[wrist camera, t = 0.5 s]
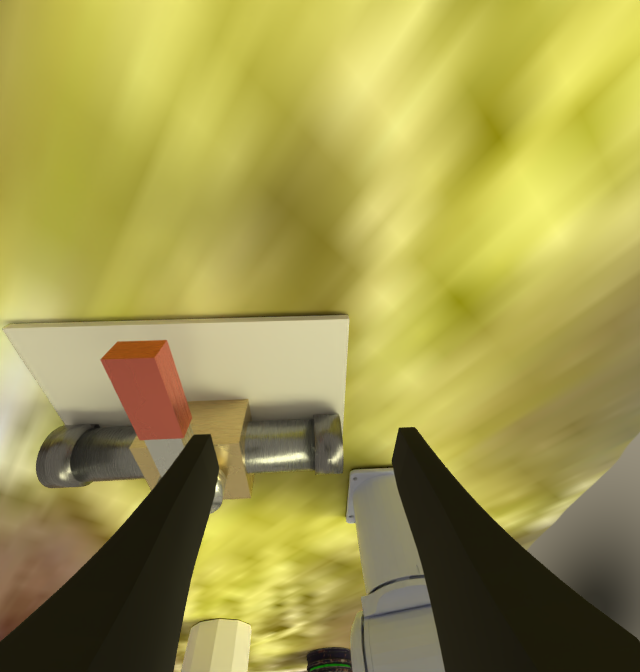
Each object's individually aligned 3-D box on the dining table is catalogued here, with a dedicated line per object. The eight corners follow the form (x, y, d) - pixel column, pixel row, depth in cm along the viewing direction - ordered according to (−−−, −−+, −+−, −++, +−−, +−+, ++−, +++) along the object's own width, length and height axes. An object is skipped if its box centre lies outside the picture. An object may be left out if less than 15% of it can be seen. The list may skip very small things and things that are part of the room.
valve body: (335, 442, 27) (341, 492, 23) (98, 453, 26) (62, 508, 22) (337, 390, 24) (345, 438, 20) (65, 400, 23) (15, 453, 19)
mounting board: (340, 461, 29) (340, 467, 28) (104, 473, 28) (101, 479, 27) (348, 314, 20) (349, 319, 20) (9, 323, 19) (1, 328, 19)
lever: (231, 494, 22) (225, 524, 20) (170, 497, 22) (159, 527, 20) (187, 339, 15) (172, 364, 13) (96, 342, 15) (69, 367, 13)
